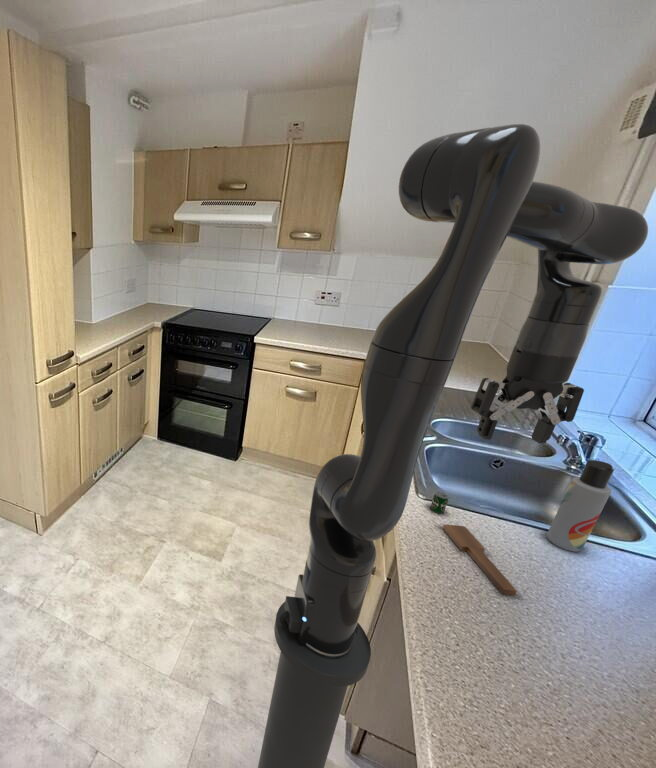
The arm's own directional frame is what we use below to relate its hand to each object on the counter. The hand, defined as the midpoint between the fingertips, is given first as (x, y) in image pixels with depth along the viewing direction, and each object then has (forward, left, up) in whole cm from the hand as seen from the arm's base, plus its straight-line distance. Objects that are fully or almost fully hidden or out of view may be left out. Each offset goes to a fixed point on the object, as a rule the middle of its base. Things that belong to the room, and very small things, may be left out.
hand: (510, 439), depth 71 cm
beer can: (+6, +21, -30) cm, 37 cm away
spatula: (+6, +5, -30) cm, 31 cm away
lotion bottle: (+28, +13, -30) cm, 43 cm away
